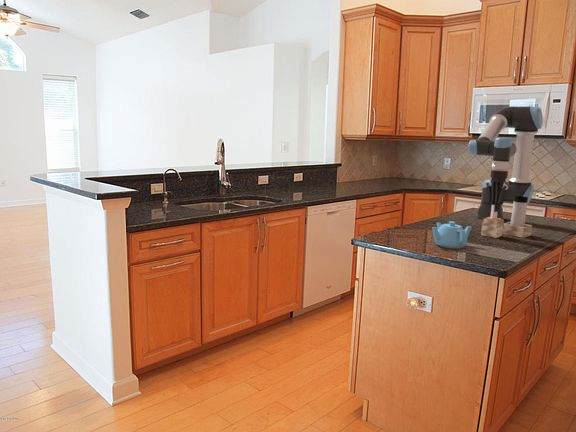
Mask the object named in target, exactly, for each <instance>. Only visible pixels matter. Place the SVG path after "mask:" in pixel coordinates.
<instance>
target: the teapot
mask: <svg viewBox="0 0 576 432" xmlns="http://www.w3.org/2000/svg"><path fill="white" fill-rule="evenodd" d="M471 229H472V226H470V225H467V226H466V227H465V228H463V226H462V225H461V224H460V225H459V224H456V221H451V220H450V221H448V223H443V224H442V223H441V222H436V226H433V227H431V230H432V237H433V240H434V244H436V245H437V246H439V247H442V248H446V249H457V250H458V249H463V248H464V247H465V246H466V245H467V244H468V237H469V236H470V233H471Z"/></svg>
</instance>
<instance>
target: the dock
mask: <svg viewBox="0 0 576 432" xmlns="http://www.w3.org/2000/svg"><path fill="white" fill-rule="evenodd" d="M510 224H511V221H507V222H505V220H504V219H503V220H501V221H498V222H497V221H491V220H485V219H482V223H481V231H480V236H483V237H484V236H485V237H489V238H495V239H497V238H499V237H502V236H503V235H505V236H510V237H511V236H512V237H517V238H523V239H525V238H527V237H530V236H532V229H533V225H532V224H528V223H527V224H526V223H525V224H524V227H518V226H513V225H510Z"/></svg>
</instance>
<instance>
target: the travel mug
mask: <svg viewBox="0 0 576 432" xmlns="http://www.w3.org/2000/svg"><path fill="white" fill-rule="evenodd" d="M527 201H528V197H523V196H514V201H513V202H514V203H512V209H511V217H510V222H511V224H510V225H513V226H518V227H524V224H526V223H525V222H526V215H527V208H528V204H527Z"/></svg>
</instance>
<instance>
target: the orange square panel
mask: <svg viewBox="0 0 576 432" xmlns="http://www.w3.org/2000/svg"><path fill="white" fill-rule="evenodd" d="M485 220H491V221H497V222H498V221H501V219H500V218H490V217H488V218H485Z"/></svg>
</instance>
